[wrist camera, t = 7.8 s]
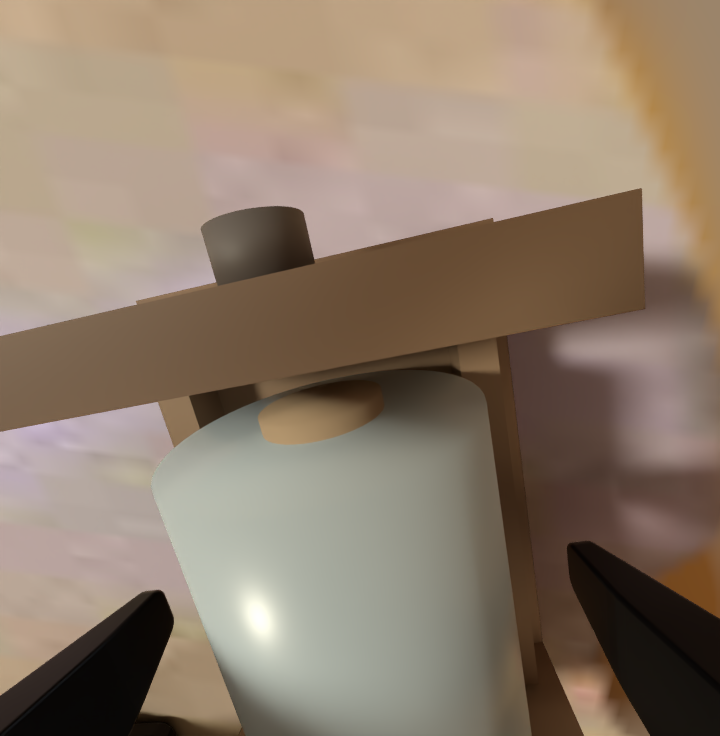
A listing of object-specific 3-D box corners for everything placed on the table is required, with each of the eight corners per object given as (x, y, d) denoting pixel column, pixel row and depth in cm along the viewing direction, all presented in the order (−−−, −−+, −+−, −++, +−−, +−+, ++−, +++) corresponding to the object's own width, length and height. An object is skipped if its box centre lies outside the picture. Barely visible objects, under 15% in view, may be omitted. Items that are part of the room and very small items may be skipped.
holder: (535, 662, 12) (663, 984, 6) (287, 681, 13) (214, 968, 7) (479, 209, 8) (637, 72, 3) (156, 285, 10) (-138, 281, 4)
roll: (474, 611, 10) (616, 940, 5) (302, 652, 10) (263, 1030, 5) (429, 345, 9) (577, 421, 3) (221, 391, 9) (22, 546, 3)
